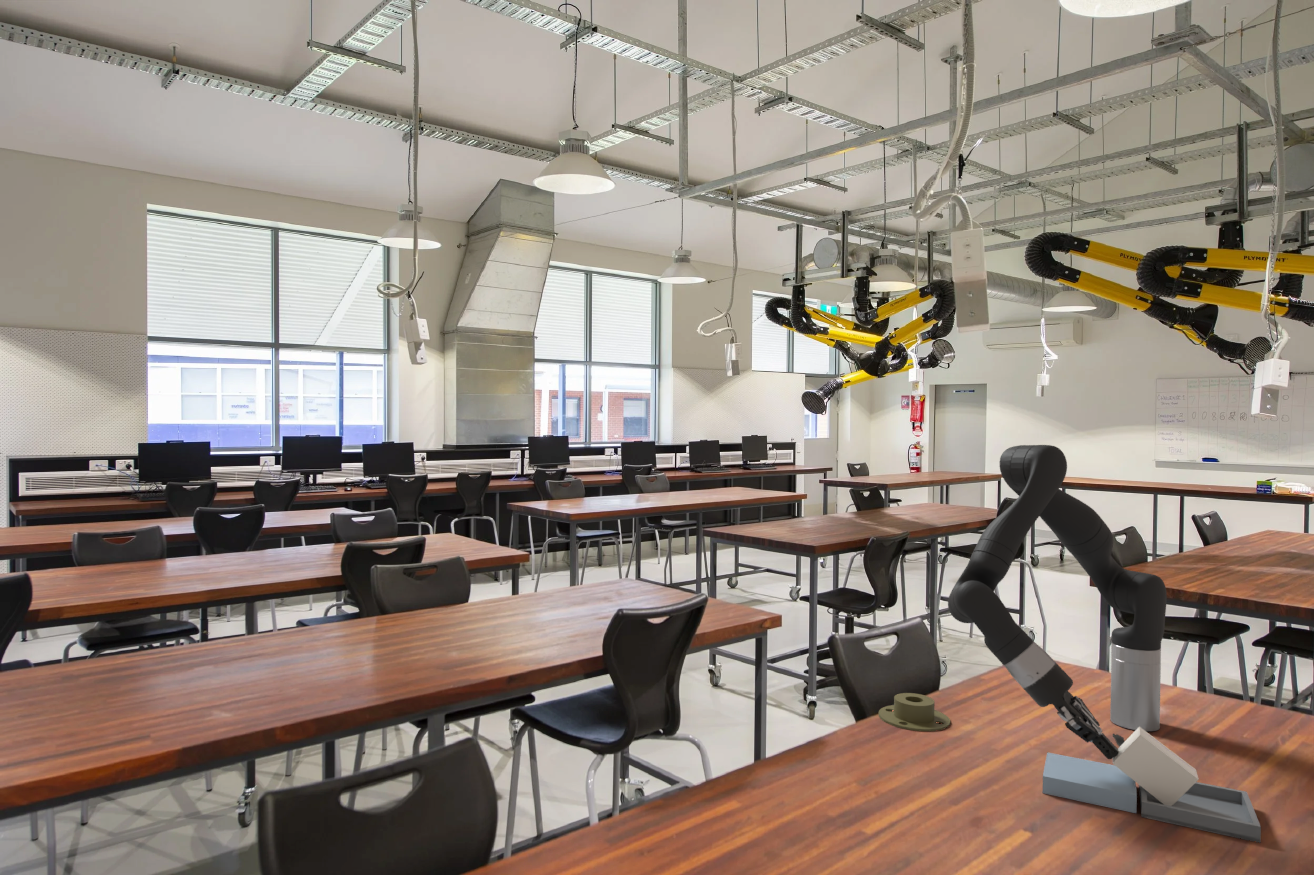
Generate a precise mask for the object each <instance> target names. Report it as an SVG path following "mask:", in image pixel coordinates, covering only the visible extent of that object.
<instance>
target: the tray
mask: <svg viewBox="0 0 1314 875" xmlns="http://www.w3.org/2000/svg"><path fill="white" fill-rule="evenodd" d="M1138 793H1139V802H1140V804H1139V805H1140V814H1141V818H1144V819H1149V820H1154V821H1159V822H1163V823H1168V824H1172V825H1177V826H1180V827H1186V828H1191V829H1195V830H1199V831H1205V832H1209V833H1212V834H1213V833H1214V834H1217V835H1222V836H1226V837H1231V838H1236V839H1240V838H1241V840H1245V841H1249V840H1250V841H1249V842H1254V841H1256V842H1255V843H1258V842H1259V844H1261V842H1262V841H1261V836H1262V832H1261V830H1262V826H1261V823H1260V821H1259V819H1258V817H1257V813H1256V812H1255V808H1254V806H1253V803H1252V801H1251V799H1250V797H1249V796H1250V795H1249V793H1248V792H1247V791H1245V790H1240V789H1235V788H1230V787H1224V786H1220V785H1219V786H1218V785H1214V784H1209V783H1203V782H1200V781H1197V782H1196V783H1195V784H1194V785H1193V786H1192V787H1191V788H1190V789H1189V790H1188V791H1187V792H1186V793H1185V794H1184V795H1183V796H1181V797H1180V798H1179V799H1178V800H1177V801H1176V802H1175V803H1174V804H1173V805H1172V806H1168V805H1164V804H1163V803H1162V802H1160V801H1159V800H1158V799H1156V798H1155V797H1154V796H1153V795H1151V794H1150V793H1149V792H1148V791H1146V790H1145V789H1144V788H1143V787H1141V786H1140V785H1139V784H1138Z"/></svg>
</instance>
